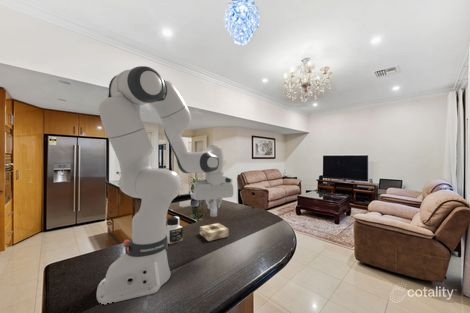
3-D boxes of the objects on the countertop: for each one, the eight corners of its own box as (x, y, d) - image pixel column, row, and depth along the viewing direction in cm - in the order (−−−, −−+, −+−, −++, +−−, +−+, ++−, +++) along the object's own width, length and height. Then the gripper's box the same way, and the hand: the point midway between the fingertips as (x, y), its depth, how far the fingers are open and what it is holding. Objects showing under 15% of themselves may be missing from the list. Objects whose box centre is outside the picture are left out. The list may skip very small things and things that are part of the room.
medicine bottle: (169, 244, 98) (169, 220, 98) (163, 240, 103) (163, 217, 104) (182, 240, 103) (182, 217, 103) (176, 236, 108) (176, 214, 108)
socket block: (208, 241, 102) (208, 233, 102) (199, 233, 112) (199, 226, 112) (228, 236, 108) (228, 228, 108) (218, 229, 118) (218, 222, 118)
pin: (212, 216, 93) (212, 197, 94) (209, 215, 96) (209, 196, 97) (218, 216, 95) (218, 197, 95) (215, 214, 98) (215, 196, 98)
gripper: (196, 180, 88) (195, 211, 88) (235, 179, 99) (234, 206, 98) (191, 179, 93) (190, 209, 93) (228, 178, 104) (228, 204, 104)
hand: (213, 207), depth 96 cm, fingers closed on pin, 3 cm apart
